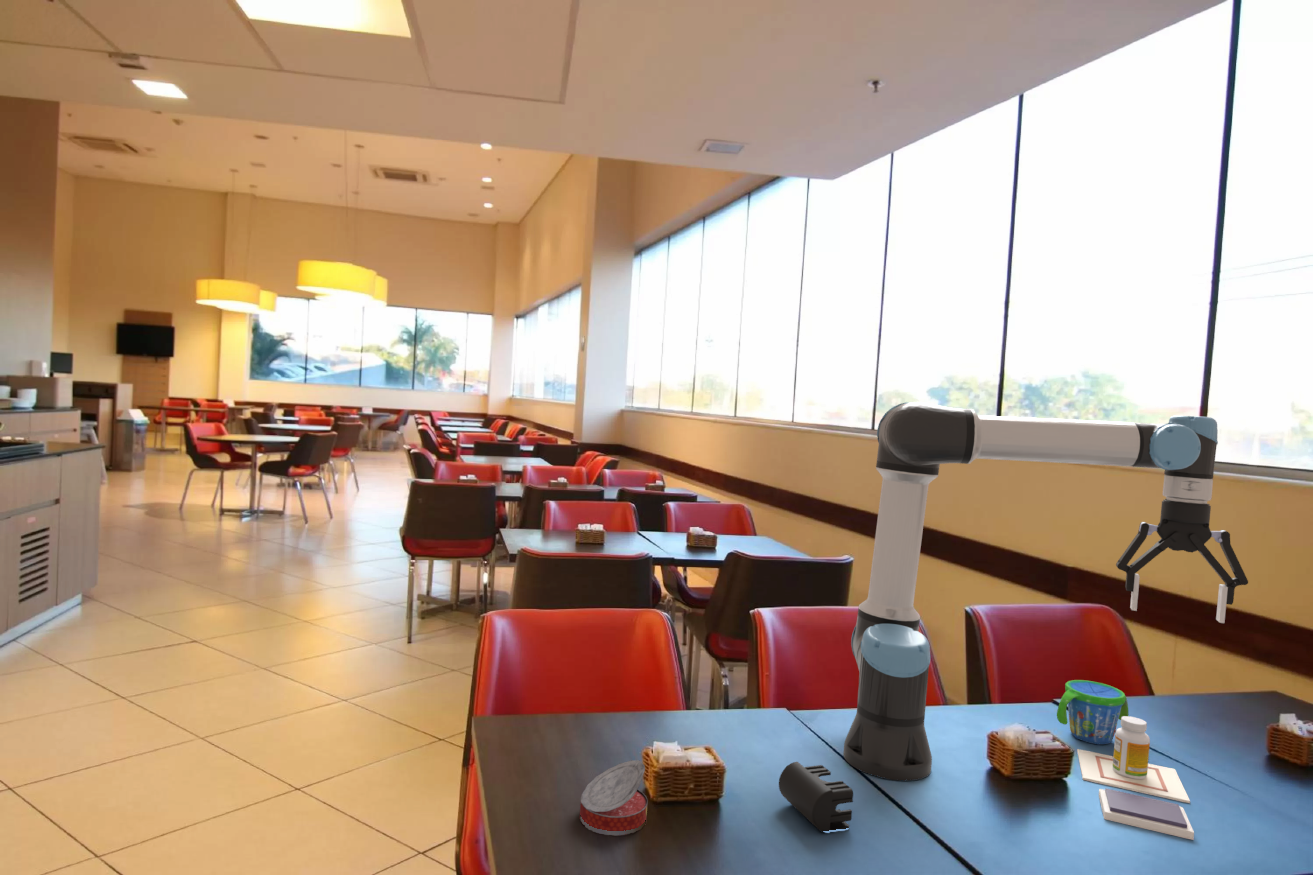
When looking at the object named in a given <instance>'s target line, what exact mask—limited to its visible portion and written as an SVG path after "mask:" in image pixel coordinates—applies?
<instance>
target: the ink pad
mask: <svg viewBox="0 0 1313 875" xmlns="http://www.w3.org/2000/svg"><path fill="white" fill-rule="evenodd" d="M1098 799H1099V802H1100V806H1101V811H1102V816H1103V819H1104V820H1107V821H1110V822H1111V821H1112V822H1115V823H1119V824H1123V825H1127V826H1128V825H1129V826H1132V827H1137V828H1140V829H1145V830H1149V831H1153V832H1158V833H1162V834H1166V835H1170V836H1175V837H1179V838H1183V839H1187V840H1190V841H1191V840H1193V841H1194V840H1195V839H1194V838H1195V831H1194V828H1193V827H1192V825H1191V822H1190V820H1189V817H1188V815H1187V813H1186V811H1185V809H1184V807H1182V806H1180V805H1179V804H1178V803H1173V802H1169V801H1165V800H1160V799H1155V798H1152V797H1146V796H1142V795H1138V794H1134V793H1133V794H1132V793H1129V792H1124V791H1119V790H1114V789H1110V788H1107V787H1105V788H1104V789H1103V788H1099V789H1098Z"/></svg>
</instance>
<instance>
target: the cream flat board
mask: <svg viewBox="0 0 1313 875" xmlns="http://www.w3.org/2000/svg"><path fill="white" fill-rule="evenodd" d="M1076 752H1077V758H1078V763H1079V767H1080V772H1081V777H1082V780H1083V781H1087V782H1090V783H1091V782H1092V783H1096V784H1101V785H1104V786H1110V787H1114V788H1117V789H1119V788H1120V789H1123V790H1128V791H1131V792H1137V793H1140V794H1141V793H1142V794H1145V795H1146V794H1147V795H1151V796H1153V797H1154V796H1155V797H1160V798H1164V799H1169V800H1171V801H1172V800H1173V801H1177V802H1181V803H1187V804H1191V800H1190V798H1189V795H1188V794H1187V791H1186V790H1185V787H1184V785H1183V783H1182V781H1181V779H1180V777H1179V775H1178V773H1177V770H1176V769H1175V768H1171V767H1166V766H1162V765H1158V764H1157V765H1156V764H1152V763H1148V770H1147V777H1146V778H1144V779H1133V778H1128V777H1125V776H1122V775H1120V774H1118V773H1116V772H1115V771H1114V770H1113V756H1112V755H1109V754H1104V753H1099V752H1094V751H1089V750H1085V749H1081V748H1080V749H1079V748H1077V749H1076Z"/></svg>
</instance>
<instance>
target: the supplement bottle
mask: <svg viewBox="0 0 1313 875" xmlns="http://www.w3.org/2000/svg"><path fill="white" fill-rule="evenodd" d="M1147 723H1148V722H1147V721H1145V720H1144V719H1142V718H1138V717H1135V716H1131V715H1130V716H1129V715H1128V716H1123V717H1122V718H1121V720H1120V727H1118V728H1116V730H1115V734H1114V745H1113V746H1114V747H1113V770H1114V771H1115V772H1116V773H1118V774H1120V775H1122V776H1125V777H1128V778H1133V779H1144V778H1146V777H1147V770H1148V764H1149V759H1150V758H1149V757H1150V756H1149V755H1150V747H1151V746H1150V744H1151V740H1150V739H1151V738H1150V736H1149V735H1148V734H1147V733H1146V732H1147V728H1148V727H1147V726H1148V725H1147Z"/></svg>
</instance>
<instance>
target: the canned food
mask: <svg viewBox="0 0 1313 875" xmlns="http://www.w3.org/2000/svg"><path fill="white" fill-rule="evenodd" d="M645 766H646V765H645V764H644V763H643V762H642V761H641V760H628V761H625V762H621V763H620V762H619V763H618V764H617V765H615V766H612V767H609V768H608V769H606V770H605V771H603V772H602V773H600V774H598V775H596V776H595V777H594V778H593V779H592V781H590V782H589V783H588V784H587V785H586V786H585V788H584V790H583V792H582V793H581V796H580V805H579V806H580V807H579V808H580V809H579V816H580V815H581V817H582V819H583V820H584V822H586V823H587V824H589V826H592V827H594V828H597V829H602V830H607V831H624V830H625V831H626V830H631V829H635V828H638V827H639V826H641V825H642V824H643V823H644V822H645V820H646V821H647V815H648V814H647V813H648V812H647V811H648V804H649V803H648V801H649V800H648V798H647V795H645V793H643V791H641V790H640V789H639V788H640V786H641V784H642V778H643V776H644V774H645V771H646V768H645Z"/></svg>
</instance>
